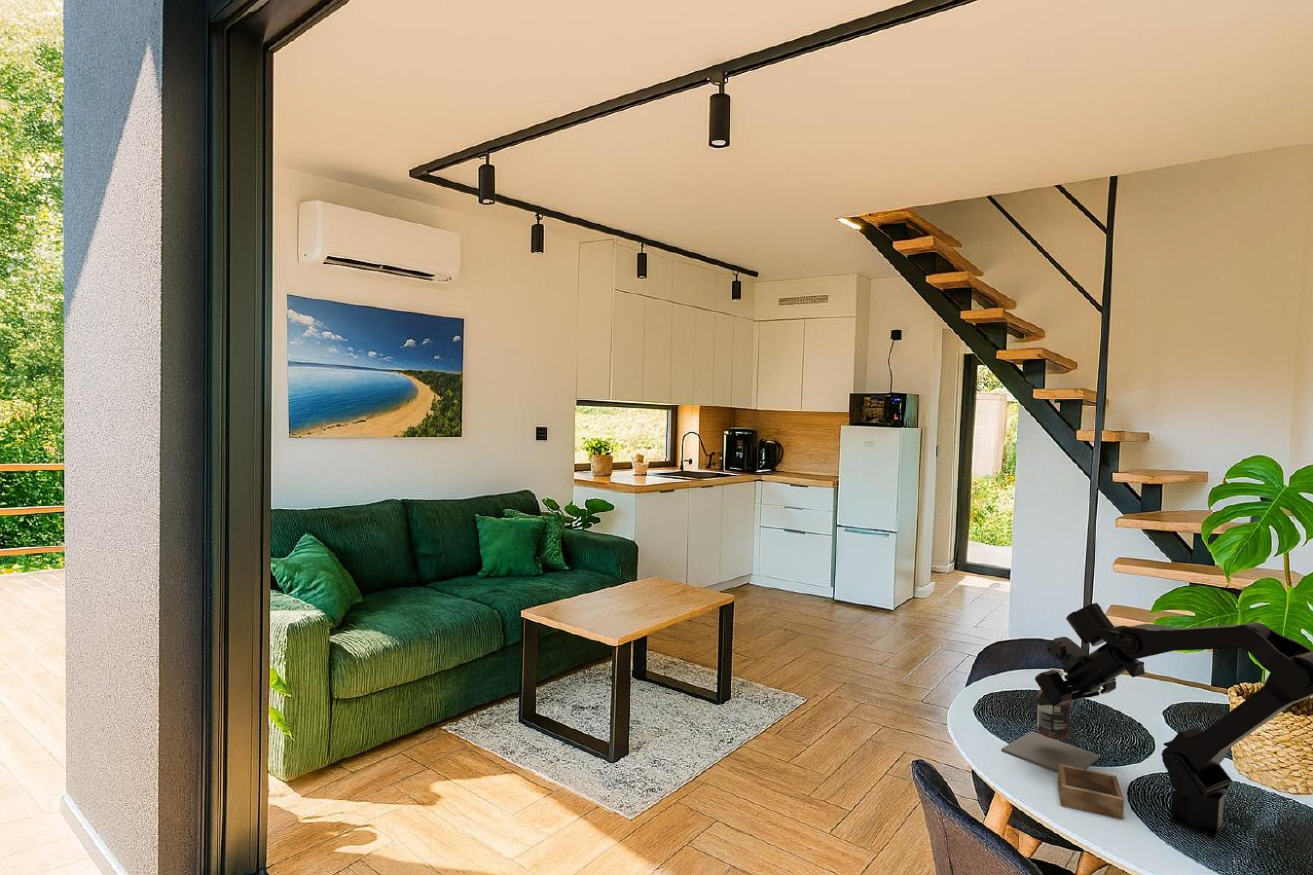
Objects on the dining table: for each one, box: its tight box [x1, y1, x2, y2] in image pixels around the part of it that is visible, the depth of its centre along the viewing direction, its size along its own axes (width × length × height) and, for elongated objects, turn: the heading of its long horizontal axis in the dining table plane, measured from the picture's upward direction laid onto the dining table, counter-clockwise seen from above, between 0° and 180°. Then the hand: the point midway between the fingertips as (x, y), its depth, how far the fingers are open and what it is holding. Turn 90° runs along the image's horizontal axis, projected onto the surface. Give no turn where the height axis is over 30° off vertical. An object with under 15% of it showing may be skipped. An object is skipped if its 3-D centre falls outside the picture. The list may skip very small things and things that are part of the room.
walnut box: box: [1057, 764, 1125, 820], centre depth 135 cm, size 10×10×4 cm
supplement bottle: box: [1036, 688, 1071, 740], centre depth 152 cm, size 6×6×11 cm
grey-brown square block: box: [1000, 731, 1101, 774], centre depth 153 cm, size 14×14×1 cm
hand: (1047, 700), depth 154 cm, fingers closed on supplement bottle, 6 cm apart
